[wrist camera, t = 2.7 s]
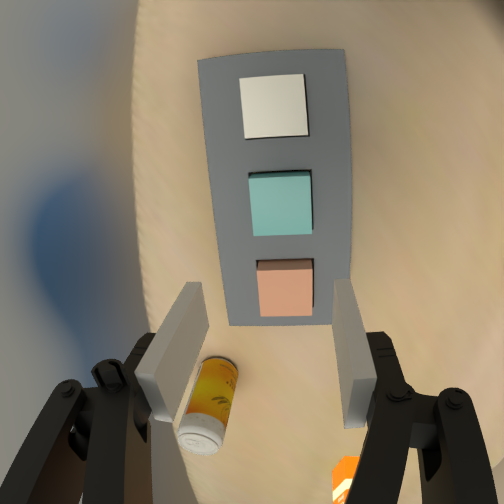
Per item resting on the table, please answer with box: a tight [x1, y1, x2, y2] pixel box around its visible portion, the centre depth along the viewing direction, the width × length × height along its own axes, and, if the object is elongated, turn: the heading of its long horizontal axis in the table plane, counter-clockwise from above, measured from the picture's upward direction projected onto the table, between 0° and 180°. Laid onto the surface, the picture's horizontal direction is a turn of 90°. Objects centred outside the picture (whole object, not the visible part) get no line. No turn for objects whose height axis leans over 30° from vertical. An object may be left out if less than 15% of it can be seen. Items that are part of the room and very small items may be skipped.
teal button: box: [248, 171, 312, 236], centre depth 33 cm, size 6×6×3 cm
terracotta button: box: [257, 258, 312, 317], centre depth 37 cm, size 6×6×3 cm
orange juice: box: [333, 456, 360, 504], centre depth 49 cm, size 8×9×20 cm
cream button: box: [239, 74, 308, 139], centre depth 29 cm, size 6×6×3 cm
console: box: [197, 49, 352, 326], centre depth 35 cm, size 32×15×3 cm, turn 5°
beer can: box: [177, 358, 238, 455], centre depth 42 cm, size 6×6×15 cm
